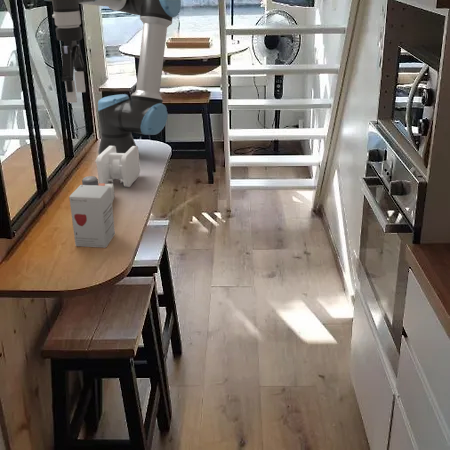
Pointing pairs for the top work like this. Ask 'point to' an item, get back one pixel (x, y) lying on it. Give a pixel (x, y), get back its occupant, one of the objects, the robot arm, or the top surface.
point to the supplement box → (92, 215)
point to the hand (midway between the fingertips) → (76, 97)
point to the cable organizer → (118, 166)
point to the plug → (90, 180)
